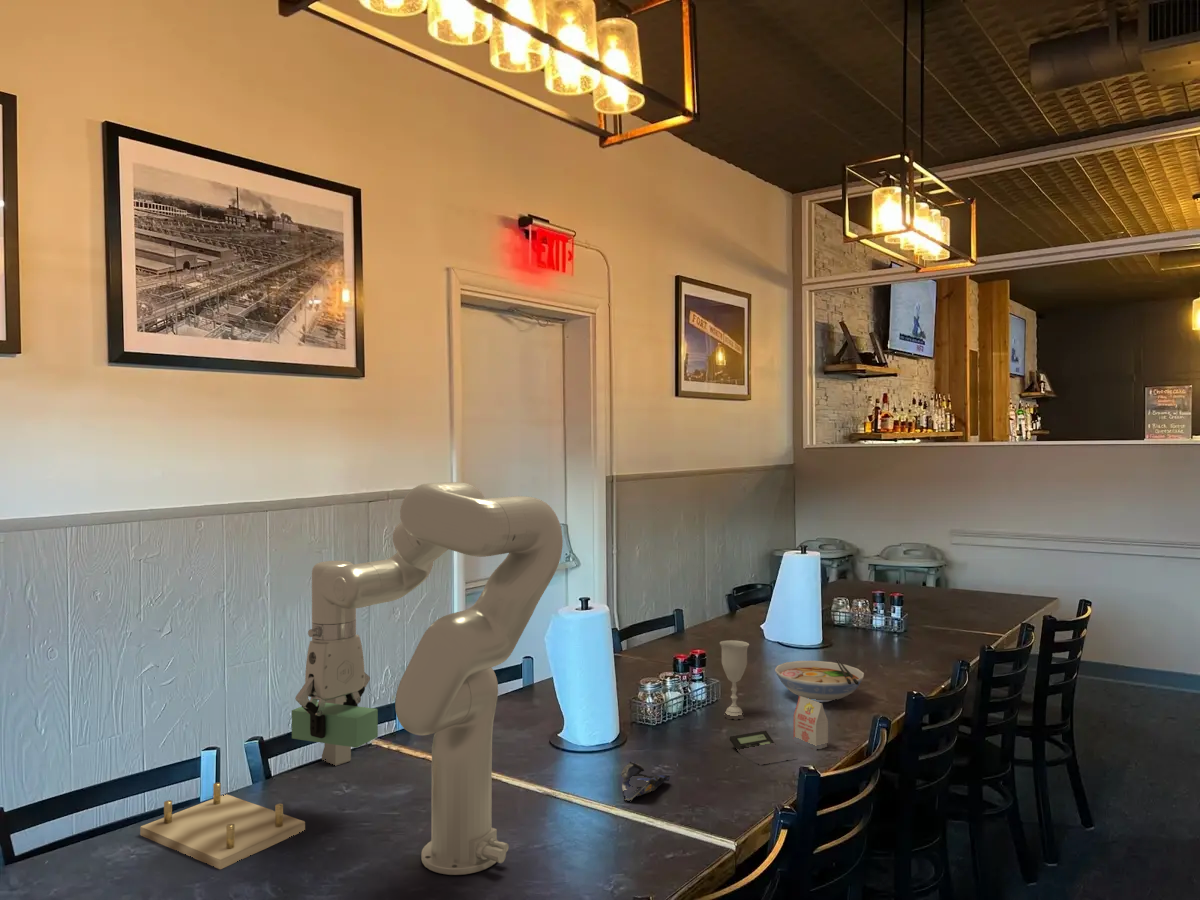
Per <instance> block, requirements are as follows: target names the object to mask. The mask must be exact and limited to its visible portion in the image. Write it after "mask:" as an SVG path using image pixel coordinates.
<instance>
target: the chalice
mask: <svg viewBox="0 0 1200 900" xmlns="http://www.w3.org/2000/svg"><path fill="white" fill-rule="evenodd" d="M719 646H720V647H721V665H722V669H723V671H724V673H725V675H726V677H727V680H728V681H730V682H731V688H730V691H731V695H730V698H731V701H732V702H731V704H730V706H727V708H726V711H725V712H724V714H725V713H726V714H727V715H730V716H738V715H742V713H743V714H744V712H743V710H742V708H741V707H740V706H738V705H737V700H738V698H739V697H738V696H737V691H738V687H737V683H738V682H740V681H741V679H742V677H743V675H744V673H745V671H746V669H747V666H748V647H749V646H750V644H749V642H746V641H743V640H733V639H730V640H722V641H720V642H719Z"/></svg>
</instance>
